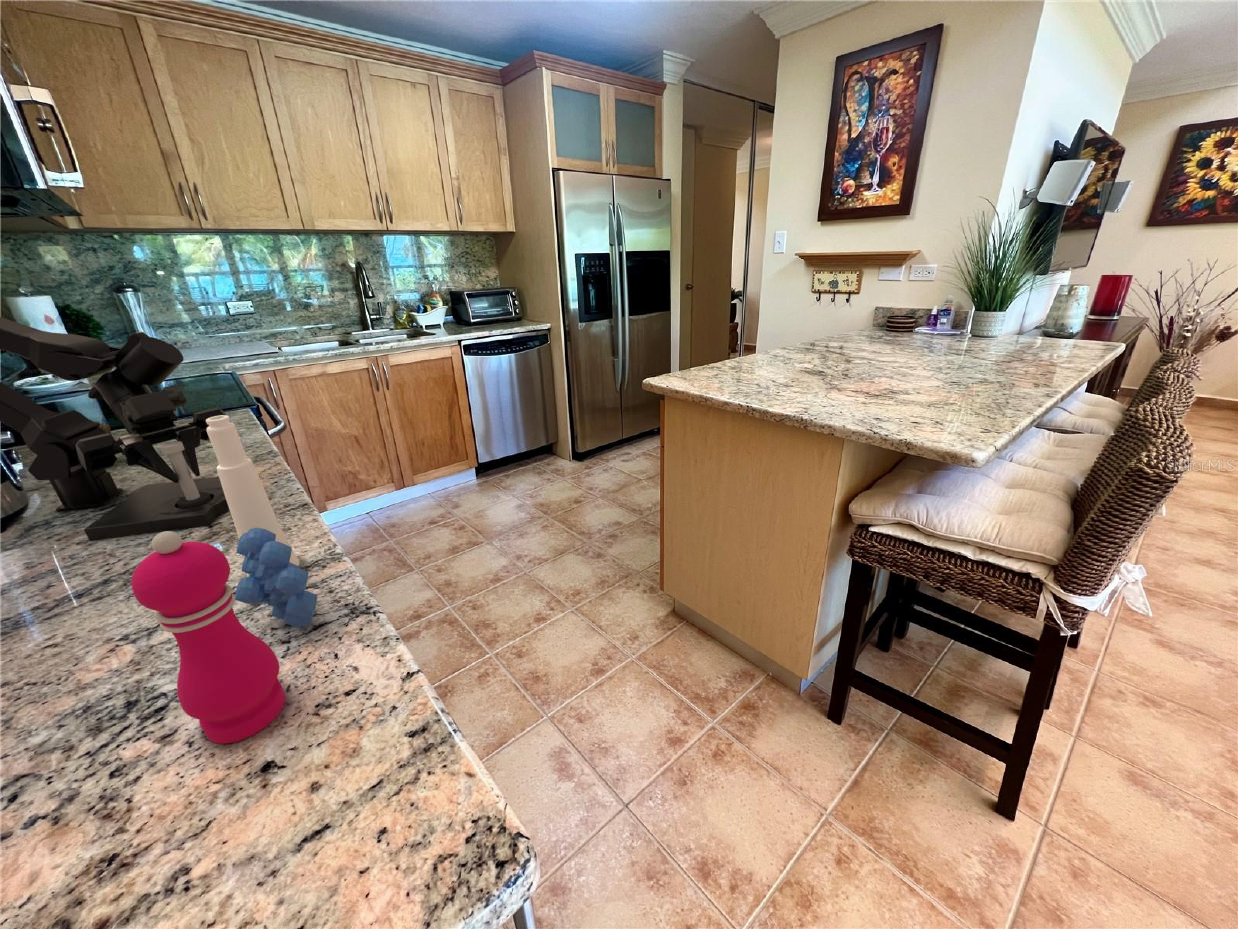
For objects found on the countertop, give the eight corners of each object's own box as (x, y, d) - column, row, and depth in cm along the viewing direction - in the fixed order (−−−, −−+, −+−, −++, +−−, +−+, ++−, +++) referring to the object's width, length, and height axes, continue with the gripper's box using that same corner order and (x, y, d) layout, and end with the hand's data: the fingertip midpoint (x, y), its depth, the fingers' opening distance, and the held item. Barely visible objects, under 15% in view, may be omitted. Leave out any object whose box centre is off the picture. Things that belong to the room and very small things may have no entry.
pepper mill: (231, 686, 50) (149, 512, 41) (306, 680, 50) (239, 507, 42) (179, 753, 43) (69, 563, 35) (265, 746, 43) (177, 556, 35)
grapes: (228, 623, 58) (189, 536, 53) (288, 591, 63) (258, 509, 58) (278, 662, 52) (240, 568, 47) (340, 623, 58) (311, 535, 53)
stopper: (176, 519, 81) (146, 450, 76) (190, 506, 85) (162, 440, 80) (207, 515, 82) (179, 447, 77) (219, 503, 86) (193, 437, 81)
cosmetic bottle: (236, 579, 66) (172, 423, 57) (279, 554, 71) (225, 408, 62) (269, 588, 64) (207, 428, 55) (310, 562, 69) (259, 412, 60)
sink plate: (89, 540, 76) (83, 529, 75) (151, 494, 90) (146, 484, 89) (215, 524, 79) (211, 513, 79) (255, 482, 94) (252, 472, 93)
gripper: (46, 387, 69) (108, 475, 68) (203, 361, 83) (256, 433, 82) (57, 431, 76) (114, 511, 75) (200, 400, 90) (249, 467, 89)
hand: (188, 478), depth 80 cm, fingers closed
